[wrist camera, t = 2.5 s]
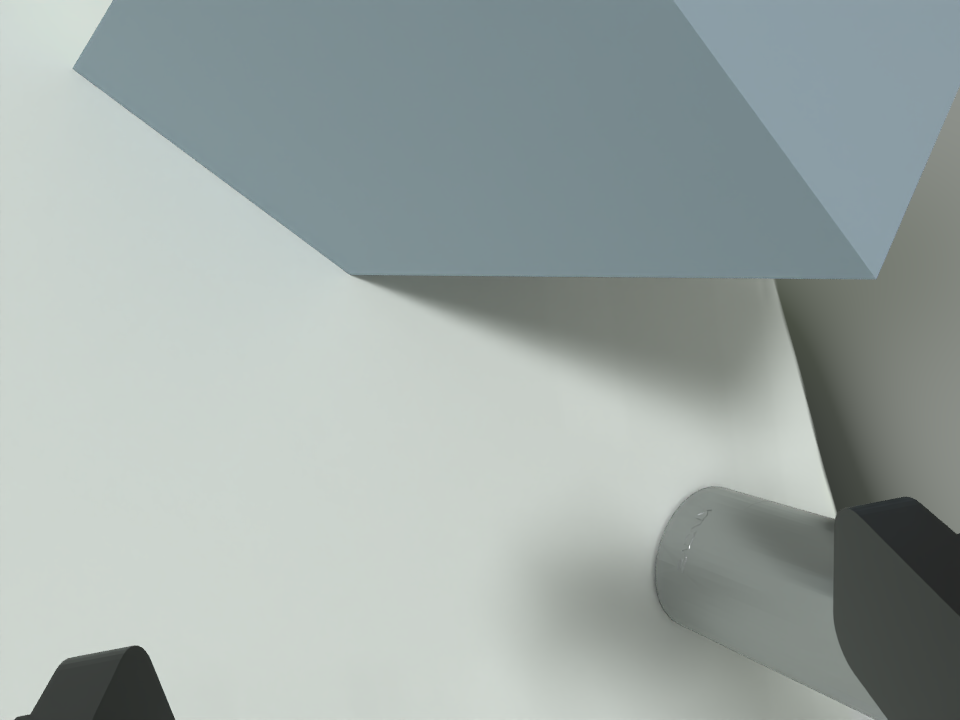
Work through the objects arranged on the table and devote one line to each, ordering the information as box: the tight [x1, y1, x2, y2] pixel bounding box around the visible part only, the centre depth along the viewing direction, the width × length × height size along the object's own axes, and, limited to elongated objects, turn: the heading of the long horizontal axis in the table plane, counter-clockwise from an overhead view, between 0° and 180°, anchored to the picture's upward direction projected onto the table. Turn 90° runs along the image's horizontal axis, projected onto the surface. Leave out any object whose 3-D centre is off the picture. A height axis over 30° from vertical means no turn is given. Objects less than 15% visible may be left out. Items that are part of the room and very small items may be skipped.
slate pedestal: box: [73, 0, 960, 279], centre depth 22 cm, size 13×10×24 cm
